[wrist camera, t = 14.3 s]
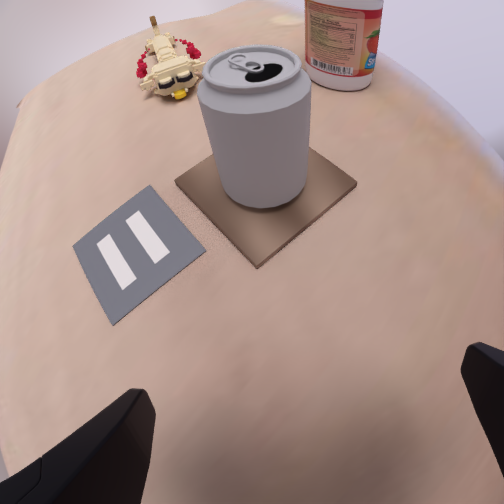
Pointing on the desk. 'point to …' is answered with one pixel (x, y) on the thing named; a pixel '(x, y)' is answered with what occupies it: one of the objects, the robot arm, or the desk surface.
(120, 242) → the tile
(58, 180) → the desk surface
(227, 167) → the can
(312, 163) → the board
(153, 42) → the cream voxel animal
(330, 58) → the fruit juice
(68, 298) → the desk surface
